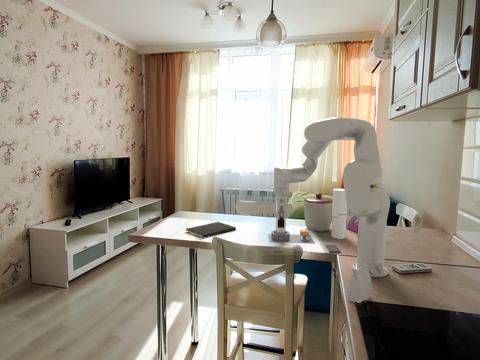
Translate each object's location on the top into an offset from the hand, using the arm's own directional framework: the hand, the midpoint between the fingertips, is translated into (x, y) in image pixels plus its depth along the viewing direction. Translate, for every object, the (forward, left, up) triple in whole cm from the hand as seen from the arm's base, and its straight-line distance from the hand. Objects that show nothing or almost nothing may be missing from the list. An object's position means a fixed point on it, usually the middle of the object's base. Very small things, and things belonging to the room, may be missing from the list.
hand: (280, 224), depth 152 cm
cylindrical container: (+8, -31, -8) cm, 33 cm away
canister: (+22, -23, -8) cm, 33 cm away
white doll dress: (-58, -20, -8) cm, 62 cm away
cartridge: (0, 0, -7) cm, 7 cm away
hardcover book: (+14, +37, -9) cm, 40 cm away
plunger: (0, -12, -7) cm, 14 cm away
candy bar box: (+21, -44, -8) cm, 49 cm away
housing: (0, -5, -8) cm, 9 cm away
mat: (-12, -21, -8) cm, 26 cm away
